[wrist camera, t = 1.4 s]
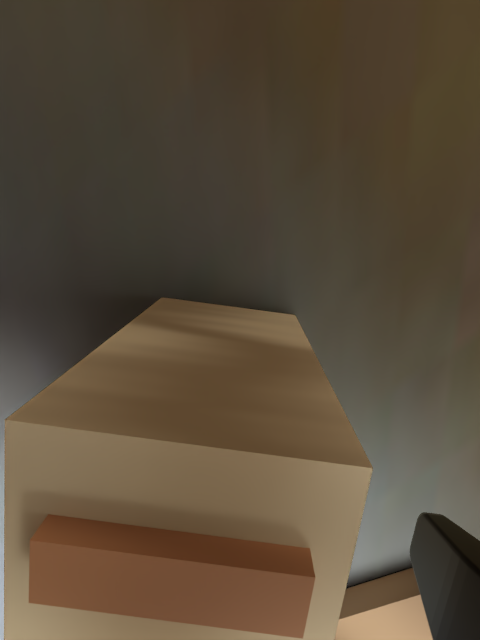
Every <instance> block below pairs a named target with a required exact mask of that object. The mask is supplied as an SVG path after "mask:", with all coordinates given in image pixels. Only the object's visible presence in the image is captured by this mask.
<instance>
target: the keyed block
mask: <svg viewBox="0 0 480 640" xmlns="http://www.w3.org/2000/svg"><path fill="white" fill-rule="evenodd" d="M372 471H373V467H372V465H371V463H370V462H369V460H368V458H367V456H366V454H365V452H364V450H363V448H362V446H361V444H360V442H359V440H358V438H357V436H356V434H355V432H354V430H353V428H352V426H351V424H350V422H349V420H348V418H347V416H346V414H345V412H344V410H343V408H342V406H341V404H340V402H339V400H338V398H337V396H336V394H335V393H334V391H333V389H332V387H331V385H330V383H329V381H328V379H327V377H326V375H325V373H324V371H323V369H322V367H321V365H320V363H319V361H318V359H317V357H316V355H315V353H314V351H313V349H312V347H311V345H310V343H309V341H308V339H307V337H306V335H305V333H304V331H303V329H302V327H301V325H300V324H299V322H298V320H297V318H296V316H295V315H291V314H284V313H276V312H269V311H261V310H254V309H246V308H239V307H231V306H224V305H216V304H208V303H201V302H193V301H186V300H178V299H171V298H163V297H162V298H160V299H159V300H158V301H156V302H155V303H154V304H153V305H151V306H150V307H149V308H148V309H146V310H145V311H144V312H142V313H141V314H140V315H139V316H137V317H136V318H135V319H133V320H132V321H131V322H130V323H128V324H127V325H126V326H124V327H123V328H122V329H121V330H119V331H118V332H117V333H115V334H114V335H113V336H112V337H110V338H109V339H108V340H107V341H105V342H104V343H103V344H101V345H100V346H99V347H98V348H96V349H95V350H94V351H92V352H91V353H90V354H89V355H87V356H86V357H85V358H83V359H82V360H81V361H80V362H78V363H77V364H76V365H74V366H73V367H72V368H71V369H69V370H68V371H67V372H65V373H64V374H63V375H62V376H60V377H59V378H58V379H57V380H55V381H54V382H53V383H51V384H50V385H49V386H48V387H46V388H45V389H44V390H42V391H41V392H40V393H39V394H37V395H36V396H35V397H33V398H32V399H31V400H30V401H28V402H27V403H26V404H24V405H23V406H22V407H21V408H19V409H18V410H17V411H15V412H14V413H13V414H12V415H10V416H9V417H8V418H7V419H5V514H4V640H334V639H335V634H336V630H337V625H338V621H339V617H340V612H341V608H342V603H343V599H344V594H345V590H346V586H347V581H348V577H349V572H350V568H351V563H352V559H353V555H354V550H355V546H356V541H357V537H358V532H359V528H360V524H361V519H362V515H363V510H364V506H365V501H366V497H367V493H368V488H369V484H370V479H371V475H372Z"/></svg>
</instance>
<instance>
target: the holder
mask: <svg viewBox="0 0 480 640" xmlns="http://www.w3.org/2000/svg"><path fill="white" fill-rule="evenodd" d="M334 640H433V638H432V635H431V632H430V628H429V624H428V621H427V617H426V614H425V610H424V606H423V603H422V599H421V595H420V592H419V588H418V585H417V581H416V577H415V574H414V570H413V568H410V569H407V570H404V571H401V572H398V573H394V574H391V575H388V576H385V577H382V578H379V579H375V580H372V581H369V582H366V583H363V584H359V585H356V586H353V587H350V588H347V589H346V590H345V594H344V599H343V603H342V608H341V612H340V617H339V621H338V625H337V630H336V634H335V639H334Z"/></svg>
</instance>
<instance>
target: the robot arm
mask: <svg viewBox="0 0 480 640" xmlns="http://www.w3.org/2000/svg"><path fill="white" fill-rule="evenodd" d="M410 558H411V563H412V566H413V570H414V574H415V577H416V581H417V585H418V588H419V592H420V595H421V599H422V603H423V606H424V610H425V614H426V617H427V621H428V624H429V628H430V632H431V635H432V638H433V640H480V541H479V540H478V539H476V538H475V537H473V536H472V535H471V534H469V533H468V532H466V531H465V530H463V529H462V528H461V527H459V526H458V525H456V524H455V523H453V522H452V521H451V520H449V519H448V518H446V517H445V516H443V515H440V514H433V513H426V512H423V513H421V514H420V515H419V517H418V519H417V523H416V527H415V531H414V534H413V538H412V542H411V546H410Z"/></svg>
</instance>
